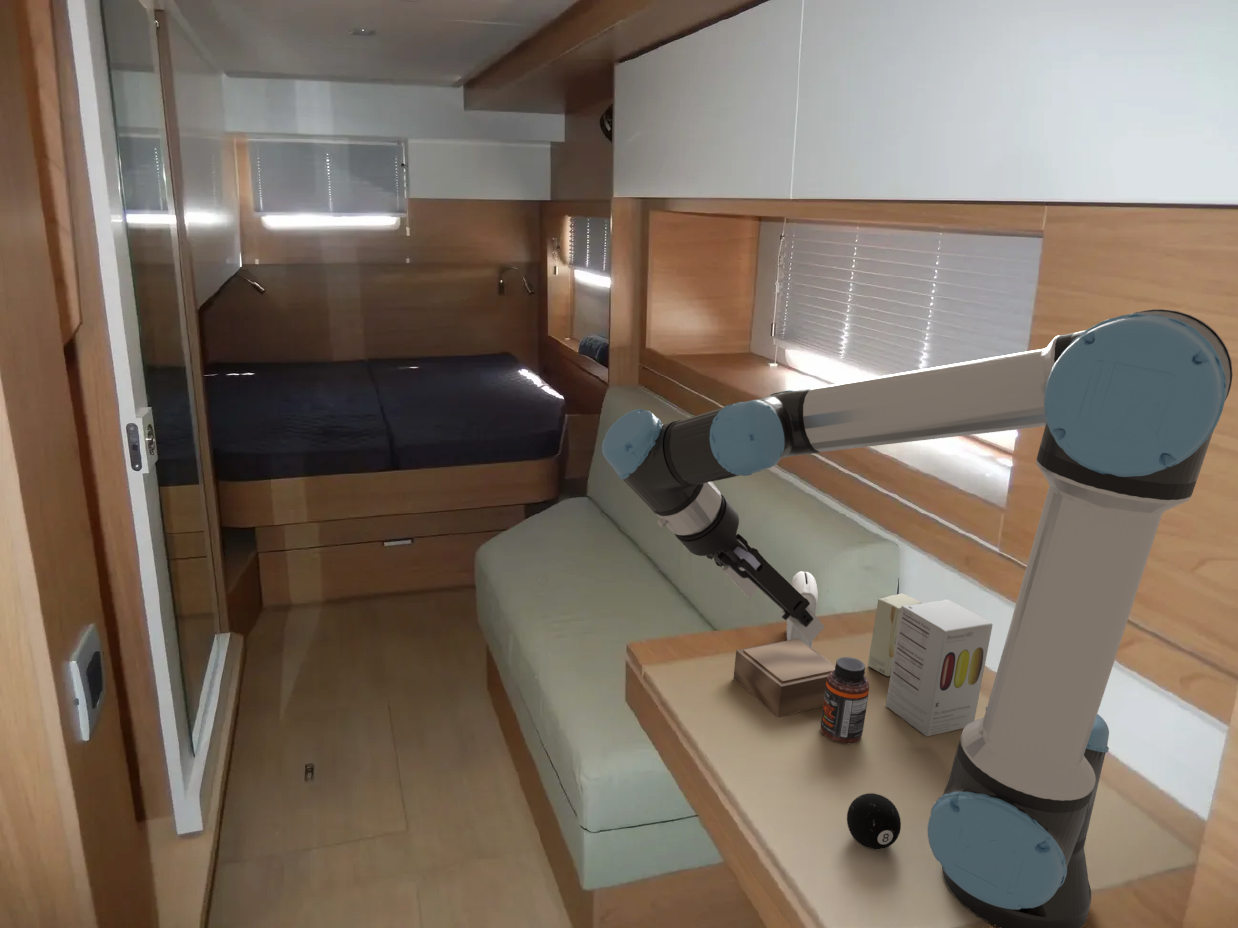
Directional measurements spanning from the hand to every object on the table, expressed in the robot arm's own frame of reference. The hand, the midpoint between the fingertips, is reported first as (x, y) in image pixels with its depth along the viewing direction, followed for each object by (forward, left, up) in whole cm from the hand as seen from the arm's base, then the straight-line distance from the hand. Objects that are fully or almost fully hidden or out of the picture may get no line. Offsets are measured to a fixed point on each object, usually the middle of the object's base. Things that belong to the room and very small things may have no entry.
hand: (784, 610), depth 118 cm
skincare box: (+12, -33, -21) cm, 41 cm away
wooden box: (+12, -12, -21) cm, 27 cm away
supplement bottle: (-1, -12, -21) cm, 24 cm away
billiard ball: (-21, 0, -21) cm, 30 cm away
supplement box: (-2, -28, -21) cm, 35 cm away
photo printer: (+25, -24, -21) cm, 41 cm away
